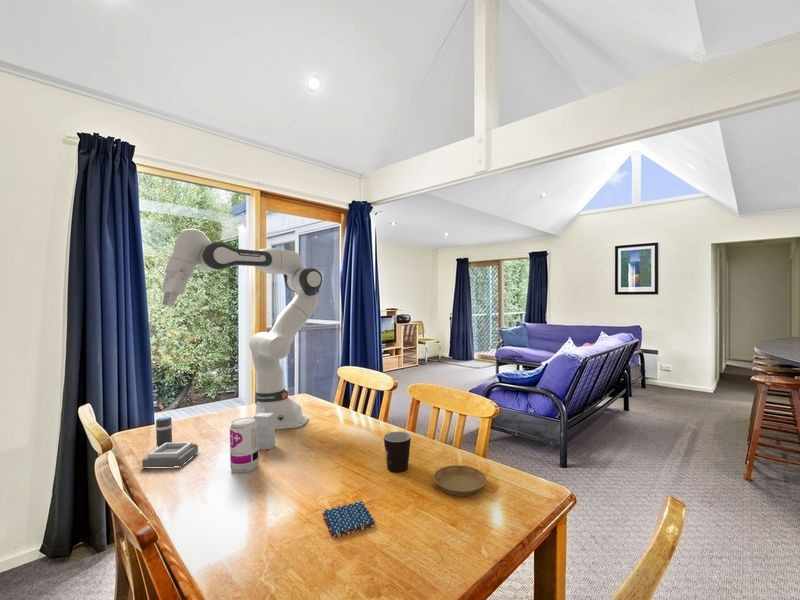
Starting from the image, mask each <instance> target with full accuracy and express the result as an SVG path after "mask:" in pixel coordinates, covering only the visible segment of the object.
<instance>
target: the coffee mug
mask: <svg viewBox="0 0 800 600" xmlns="http://www.w3.org/2000/svg"><path fill="white" fill-rule="evenodd" d="M411 438H412V436H411V434H410V433H408V432H404V431H390V432H388V433H385V434H384V435H383V444H384V450H385V453H384V454H385V459H386V461H385V462H386V468H387V471H389V472H390V473H393V474H402V473H404V472H406V471H408V469H409V461H410V459H409V458H410V449H411Z"/></svg>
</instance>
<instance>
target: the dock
mask: <svg viewBox="0 0 800 600" xmlns="http://www.w3.org/2000/svg"><path fill="white" fill-rule="evenodd" d="M197 452H198V453H199V445H198V444H197V442H193V441H178V442H176V441H175V442H173V441H172V442H171V443H164V444H163V445H161V446H160V447H158V448H157V447H156V448H155V449H154V450H152V451H150V452H149V453H148V454H147V456H145V457H144V458H143V459H142V460H141V461H142V462H141V463H142V464H141V465H142V467H174V466H179V467H180V466H182V465H183V464H184V463H185V462H187V461H188V460H189V459H190V458H191V457H192V456H194V455H195V454H196V453H197ZM195 456H196V455H195ZM195 456H194V457H195ZM189 461H190V460H189ZM189 461H188V462H189ZM188 462H187V463H188ZM183 466H184V465H183ZM183 466H182V467H183Z"/></svg>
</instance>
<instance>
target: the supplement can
mask: <svg viewBox="0 0 800 600" xmlns="http://www.w3.org/2000/svg"><path fill="white" fill-rule="evenodd" d="M229 453H230V454H229V455H230V470H231V471H232V472H233V471H234V472H233V473H235V472H238V473H237V474H244V473H243V472H246V473H249V472H252V471H254V470H255V469H257V467H258V466H259V464H260V463H259V462H260V460H259V459H260V458H259V457H260V456H259V455H260V454H259V449H258V424H257V422H256V419H255V418H254V417H241V418H237V419H234V420H233V421H231V425H230V427H229ZM253 469H254V470H253ZM251 470H252V471H251ZM248 471H249V472H248Z"/></svg>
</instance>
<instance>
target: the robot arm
mask: <svg viewBox="0 0 800 600" xmlns="http://www.w3.org/2000/svg"><path fill="white" fill-rule="evenodd" d="M233 266H243V267H244V266H247V267H256V268H257V270H258V271H259V272H262V273H266V274H272V275H273V274H274V275H283V278H284V279H283V280H284V284H285V287H286V288H287V290H289V291H291V292H292V293H293V292H294V293H295V295H294V296H293V299H292V300H291V301H290V302H289V303H288V304H287V305H286V307H284V309H283V310H282V311H281V312H280V313H279V314H278V315H277V317H276V319H275V323H274V325H273V327H272V328H271V329H270V330H269V331H260V332H257V333H255V334H253V335H252V336H251V337H250V339H249V342H248V347H249V350H250V351H251V357H252V361H253V365H254V366H253V367H254V370H255V387H256V388H255V389H256V391H255V392H254V403H255V413H254V416H255V415H257V414H258V413H274V429H275V431H276V430H285V429H296V428H300V427H302V426H304V425H305V424H306V423H307V422H308V415H307V414H303V411H302V407H301V405H300V404H299V403H297V402H296V401H294V400H293V399H292V398H290V397H289V391H290V390H289V389H287V390H286V389H285V388H284V370H283V368H282V365H281V363H280V360H282V359H285V358H286V357H287V356H289V353H290V352H291V346H292V343H293V341H294V339H295V337H296V335H297V334H298V333H299V331H300V330H301V329H302V327H303V326H305V324H306V323H307V322H308V320H309V319H310V318H311V316H312V315H313V314H314V312H315V310H316V308H317V306H318V304H319V300H318V297H317V296H316V295H317V294H319V292H320V288H321V287H322V284H323V275H322V273H321V272H320V271H319V270H318V269H316V268H313V267H303V265H302V258H301V255H300V254H299V253H298V252H296V251H293V250H288V249H284V248H276V247H275V248H272V247H270V248H267V247H266V248H262V249H261V248H260V249H257V250H256V249H244V248H236V247H233V246H231V245H229V244H226V243H225V242H221V241H214V242H212V241H211V240H210V239H209V238H208V237H207V236H206V234H205V232H204V231H202V230H199V229H196V228H195V229H194V228H185V229H182V230H181V231H180V233H179V234H178V236H177V238H176V240H175V242H174V245H173V251H172V253H171V255H170V256H169V258H168V261H167V265H166V267H165V271H164V273H165V276H164V279H163V283H162V286H161V293H163V298H162V302H161V305H162V306H166V307H167V306H169V307H174V305H175V302H176V301H177V299H178V297H179V295H183V294H184V292H185V290H186V286H187V283H188V281H189V279H192V278H193V275H194V274H195V273H194V272H195V269H196V267H200V268H201V269H203V270H206V271H209V272H211V271H218V270H225V269H228V268H230V267H233Z"/></svg>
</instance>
